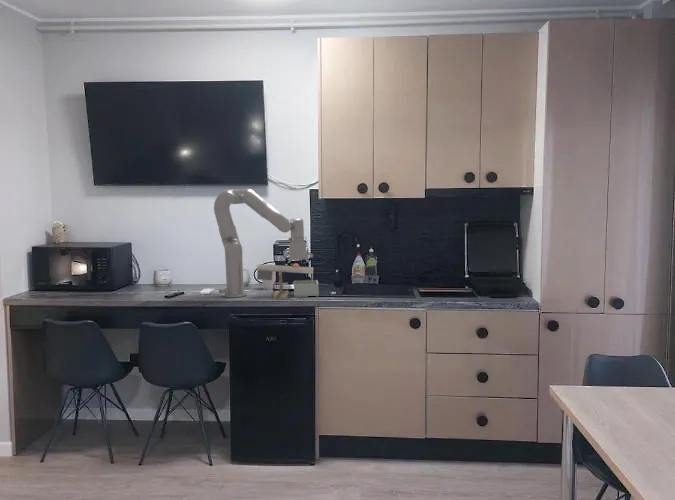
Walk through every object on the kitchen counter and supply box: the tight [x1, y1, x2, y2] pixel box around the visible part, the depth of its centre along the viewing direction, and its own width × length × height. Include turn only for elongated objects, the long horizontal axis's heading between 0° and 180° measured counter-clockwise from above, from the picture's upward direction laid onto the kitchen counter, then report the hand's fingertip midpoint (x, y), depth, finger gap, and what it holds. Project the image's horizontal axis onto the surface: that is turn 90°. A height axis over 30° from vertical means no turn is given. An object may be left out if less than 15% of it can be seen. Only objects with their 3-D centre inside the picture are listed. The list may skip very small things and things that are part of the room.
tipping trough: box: [256, 263, 314, 281], centre depth 343 cm, size 31×17×8 cm, turn 94°
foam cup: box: [261, 271, 277, 291], centre depth 363 cm, size 10×9×13 cm
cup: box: [293, 279, 320, 298], centre depth 340 cm, size 14×14×7 cm
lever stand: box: [273, 271, 289, 299], centre depth 339 cm, size 8×14×14 cm, turn 4°
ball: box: [291, 263, 300, 268], centre depth 339 cm, size 4×4×4 cm
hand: (298, 269), depth 349 cm, fingers open, 9 cm apart
